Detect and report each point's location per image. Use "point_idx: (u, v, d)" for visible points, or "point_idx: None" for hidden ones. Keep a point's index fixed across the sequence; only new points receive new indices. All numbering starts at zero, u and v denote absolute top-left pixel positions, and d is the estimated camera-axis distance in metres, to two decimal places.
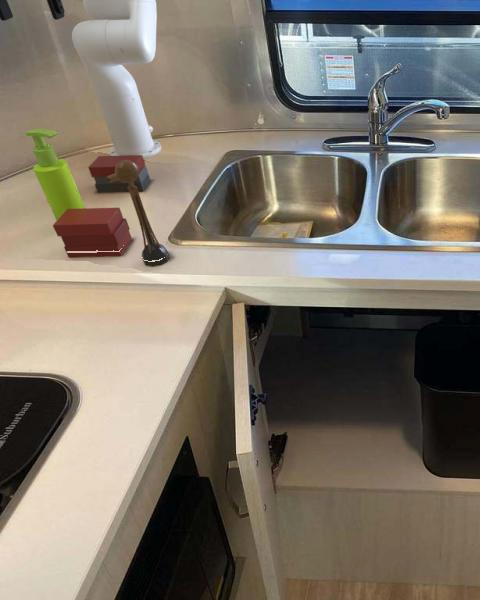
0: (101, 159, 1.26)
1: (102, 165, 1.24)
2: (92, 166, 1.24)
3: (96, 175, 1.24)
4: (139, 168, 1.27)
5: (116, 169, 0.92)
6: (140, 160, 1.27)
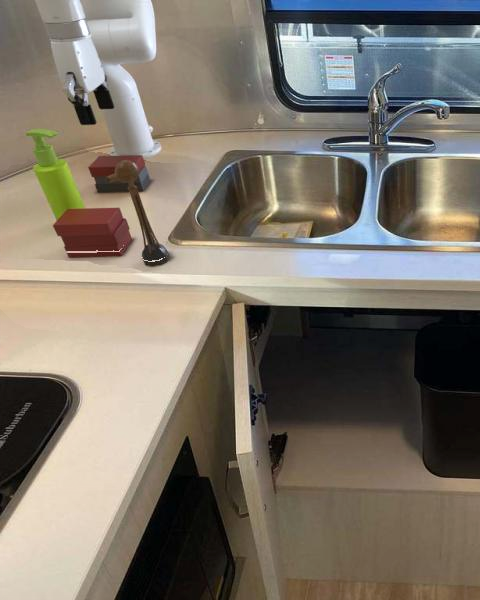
0: (101, 159, 1.26)
1: (102, 165, 1.24)
2: (92, 166, 1.24)
3: (96, 175, 1.24)
4: (139, 168, 1.27)
5: (116, 169, 0.92)
6: (140, 160, 1.27)
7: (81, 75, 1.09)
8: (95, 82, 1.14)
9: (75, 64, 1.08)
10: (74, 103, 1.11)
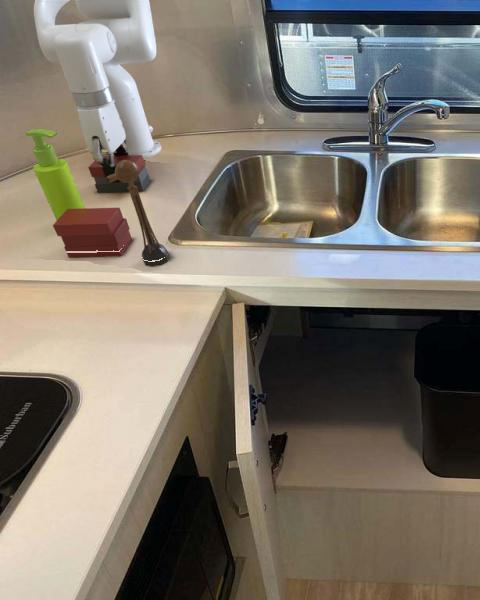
0: None
1: None
2: (92, 166, 1.24)
3: (96, 175, 1.24)
4: (139, 168, 1.27)
5: (116, 169, 0.92)
6: (140, 160, 1.27)
7: (105, 138, 1.18)
8: (117, 142, 1.22)
9: (100, 129, 1.16)
10: (102, 165, 1.21)
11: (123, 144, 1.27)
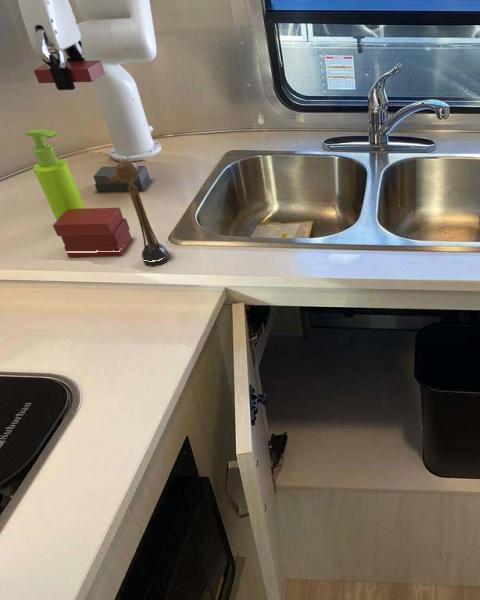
0: None
1: None
2: (39, 69, 1.03)
3: (44, 81, 1.04)
4: (96, 74, 1.06)
5: (116, 169, 0.92)
6: (98, 65, 1.07)
7: (51, 29, 0.97)
8: (68, 39, 1.02)
9: (44, 16, 0.96)
10: (49, 64, 1.00)
11: (78, 46, 1.06)
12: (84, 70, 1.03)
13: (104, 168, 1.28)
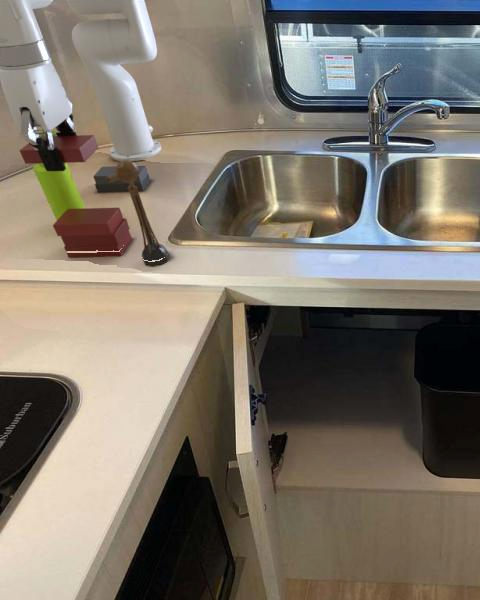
0: None
1: None
2: (25, 149, 0.93)
3: (31, 161, 0.94)
4: (89, 152, 0.96)
5: (116, 169, 0.92)
6: (91, 142, 0.97)
7: (38, 111, 0.87)
8: (58, 117, 0.92)
9: (30, 97, 0.86)
10: (37, 147, 0.90)
11: (68, 121, 0.96)
12: (75, 150, 0.93)
13: (104, 168, 1.28)
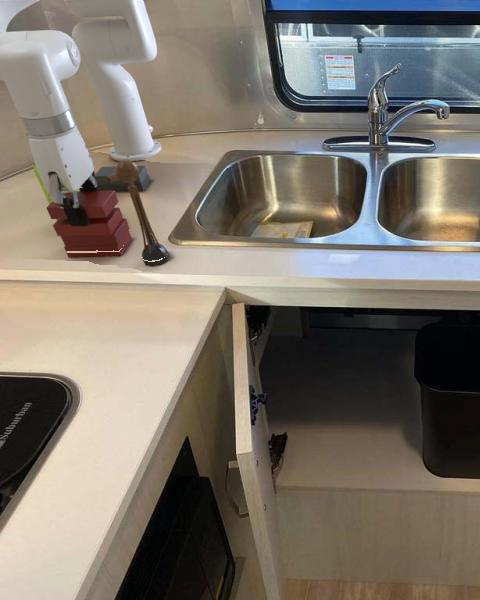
0: None
1: None
2: (51, 206, 1.00)
3: (57, 217, 1.01)
4: (110, 207, 1.03)
5: (116, 169, 0.92)
6: (112, 197, 1.03)
7: (65, 174, 0.94)
8: (82, 177, 0.99)
9: (58, 162, 0.93)
10: (63, 206, 0.97)
11: (91, 178, 1.03)
12: (98, 208, 1.00)
13: (104, 168, 1.28)
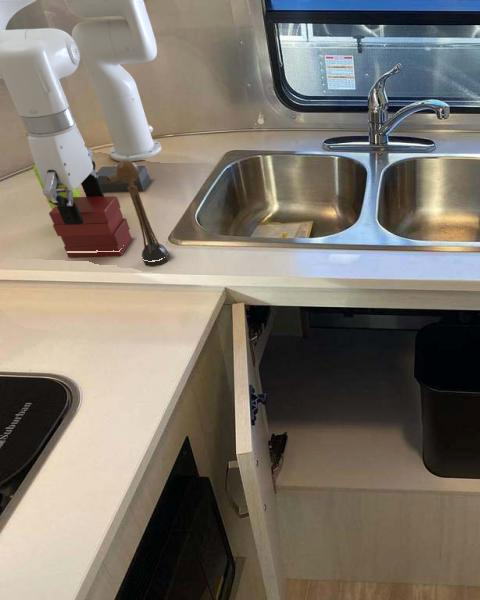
0: None
1: None
2: (54, 212, 1.01)
3: (59, 222, 1.01)
4: (112, 213, 1.04)
5: (116, 169, 0.92)
6: (114, 203, 1.04)
7: (64, 173, 0.94)
8: (81, 176, 0.98)
9: (57, 161, 0.92)
10: (57, 204, 0.95)
11: (91, 169, 1.03)
12: (100, 213, 1.01)
13: (104, 168, 1.28)
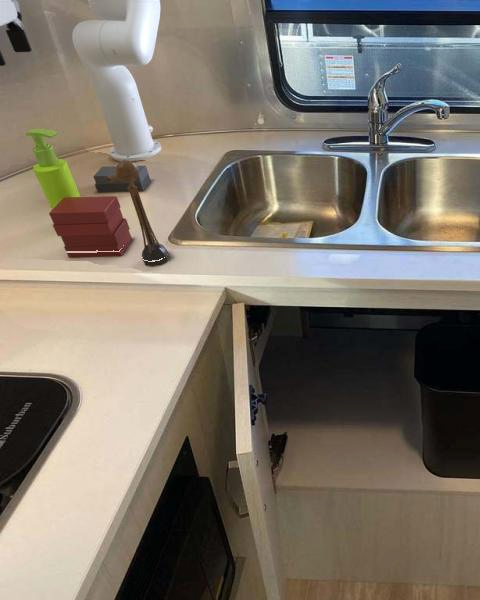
0: (66, 202, 1.03)
1: (66, 211, 1.01)
2: (54, 212, 1.01)
3: (59, 222, 1.01)
4: (112, 213, 1.04)
5: (116, 169, 0.92)
6: (114, 203, 1.04)
7: None
8: (3, 17, 1.01)
9: None
10: None
11: (16, 18, 1.06)
12: (100, 213, 1.01)
13: (104, 168, 1.28)
